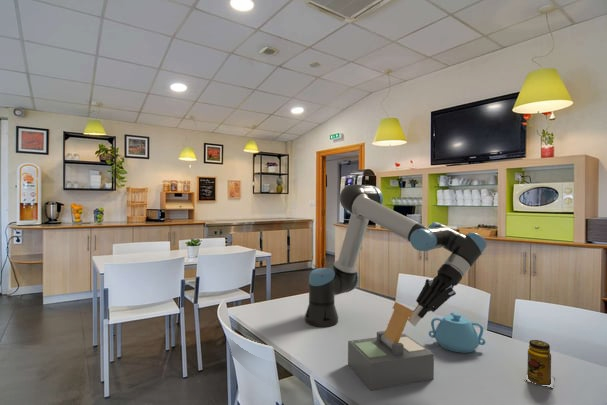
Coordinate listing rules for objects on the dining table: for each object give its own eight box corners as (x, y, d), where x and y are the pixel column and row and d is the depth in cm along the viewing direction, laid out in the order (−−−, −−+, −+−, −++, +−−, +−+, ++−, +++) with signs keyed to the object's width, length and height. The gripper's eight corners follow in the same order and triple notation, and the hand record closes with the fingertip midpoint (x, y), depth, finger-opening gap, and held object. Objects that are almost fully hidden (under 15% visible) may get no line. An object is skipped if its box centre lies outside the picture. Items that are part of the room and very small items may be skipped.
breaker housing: (403, 355, 121) (404, 325, 120) (433, 379, 105) (434, 344, 105) (347, 364, 114) (348, 332, 114) (370, 390, 99) (371, 353, 99)
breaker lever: (385, 342, 113) (401, 304, 115) (397, 352, 106) (413, 311, 108) (379, 340, 112) (394, 301, 114) (390, 349, 106) (407, 308, 107)
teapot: (428, 351, 124) (429, 317, 124) (428, 331, 143) (428, 301, 143) (488, 360, 118) (489, 325, 117) (480, 338, 136) (480, 307, 136)
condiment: (524, 381, 105) (524, 343, 104) (527, 370, 111) (528, 334, 111) (553, 390, 100) (554, 350, 100) (555, 378, 106) (556, 341, 106)
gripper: (473, 282, 111) (430, 337, 106) (446, 273, 124) (406, 323, 119) (461, 266, 109) (416, 323, 105) (434, 259, 122) (393, 309, 117)
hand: (411, 323), depth 112 cm, fingers closed
